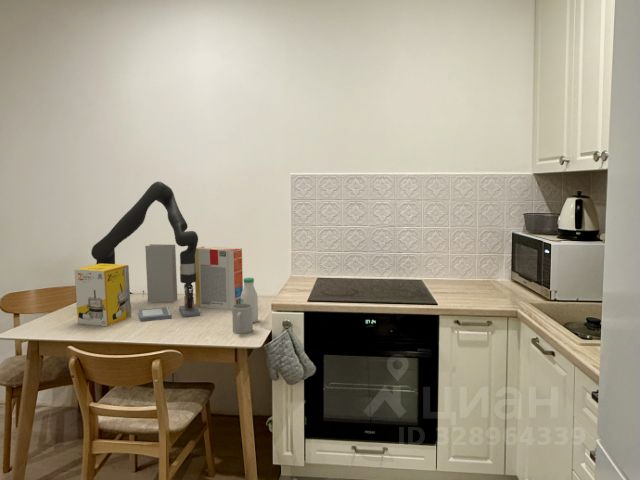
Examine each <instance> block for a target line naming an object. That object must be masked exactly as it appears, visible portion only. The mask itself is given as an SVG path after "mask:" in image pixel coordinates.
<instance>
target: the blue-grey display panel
mask: <svg viewBox="0 0 640 480" xmlns="http://www.w3.org/2000/svg"><path fill="white" fill-rule="evenodd" d="M138 317H139V322H140V321H141V322H149V321H158V320H159V321H160V320H169V319H170V320H171V319H172V313H171V310H170V308H169V306H165V307H164V306H163V307H154V308H153V307H152V308H143V309H142V308H141V309H138Z"/></svg>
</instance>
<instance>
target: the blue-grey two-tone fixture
mask: <svg viewBox="0 0 640 480" xmlns="http://www.w3.org/2000/svg"><path fill="white" fill-rule="evenodd" d="M183 298H184V305H179V307H178V309H179V311H180V313H181V315H182V317H183V318H184V317H185V318H187V317H195V316H196V317H197V316H201V311H200V310H199V307H197V306H196V303H195V298H194V296H193V300H192V308H188V307H187V296H185V295H184V296H183ZM189 298H191V296H189Z"/></svg>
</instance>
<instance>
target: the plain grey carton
mask: <svg viewBox="0 0 640 480" xmlns="http://www.w3.org/2000/svg"><path fill="white" fill-rule="evenodd" d="M176 253H177V252H176V244H149V245H145V266H146V267H145V269H146V288H147V289H146V290H147V302H151V303H153V302H154V303H155V302H156V303H174V301H176V300H178V282H177V281H178V280H177V279H178V278H177V257H176V256H177V255H176Z"/></svg>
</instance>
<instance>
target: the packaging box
mask: <svg viewBox="0 0 640 480" xmlns="http://www.w3.org/2000/svg"><path fill="white" fill-rule="evenodd" d="M129 269H130V267H129V264H119V263H118V264H116V263H115V264H92V265H88V266H84V267H79V268H75V269H74V280H75V281H74V282H75V297H76V298H75V299H76V311H77V315H76V316H77V324H79V325H80V324H81V325H90V326H91V325H92V326H99V325H101V327H109V325H110V326H111V324H112V325H115V324H117V323H119V321H120V322H122V321H124V320H126V319H129V318H132V309H131V308H132V306H131V288H130V271H129ZM121 320H122V321H121ZM116 322H117V323H116ZM114 323H115V324H114Z"/></svg>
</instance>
